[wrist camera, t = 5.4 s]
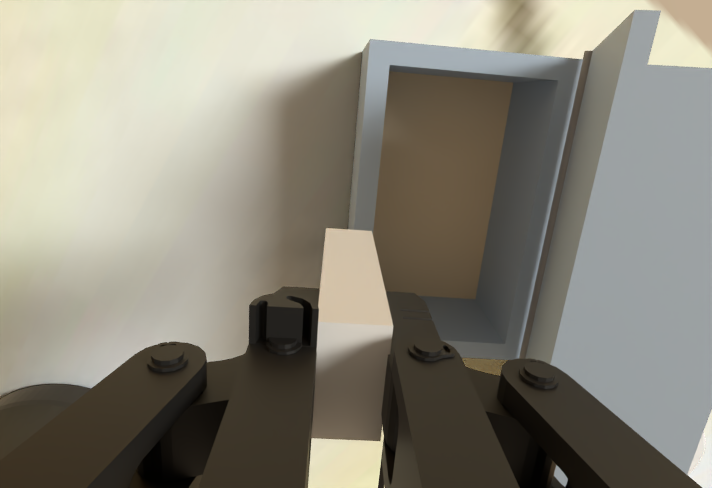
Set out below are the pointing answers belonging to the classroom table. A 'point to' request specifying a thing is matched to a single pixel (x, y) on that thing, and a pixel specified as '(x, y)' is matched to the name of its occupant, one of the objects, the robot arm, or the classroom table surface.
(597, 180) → the lid
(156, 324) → the classroom table surface
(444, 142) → the box
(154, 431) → the robot arm
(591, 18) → the classroom table surface
